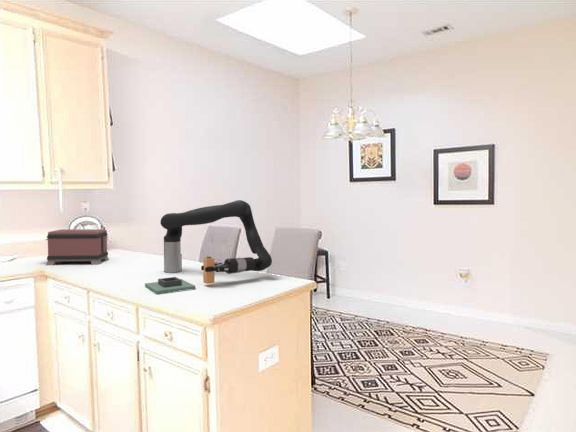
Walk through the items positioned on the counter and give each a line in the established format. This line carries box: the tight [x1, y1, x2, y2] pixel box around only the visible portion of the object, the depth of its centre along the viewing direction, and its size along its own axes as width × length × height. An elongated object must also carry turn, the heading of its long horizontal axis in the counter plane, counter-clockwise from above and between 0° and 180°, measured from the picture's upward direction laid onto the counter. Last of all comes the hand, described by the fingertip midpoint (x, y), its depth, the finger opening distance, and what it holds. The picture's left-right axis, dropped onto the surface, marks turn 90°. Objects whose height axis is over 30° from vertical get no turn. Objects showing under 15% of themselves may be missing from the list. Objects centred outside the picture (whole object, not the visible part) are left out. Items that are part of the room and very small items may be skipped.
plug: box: [202, 256, 216, 285], centre depth 194 cm, size 4×4×13 cm
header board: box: [144, 276, 196, 295], centre depth 189 cm, size 18×18×4 cm
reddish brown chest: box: [45, 228, 110, 266], centre depth 256 cm, size 19×34×21 cm, turn 96°
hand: (203, 268), depth 192 cm, fingers closed on plug, 4 cm apart
